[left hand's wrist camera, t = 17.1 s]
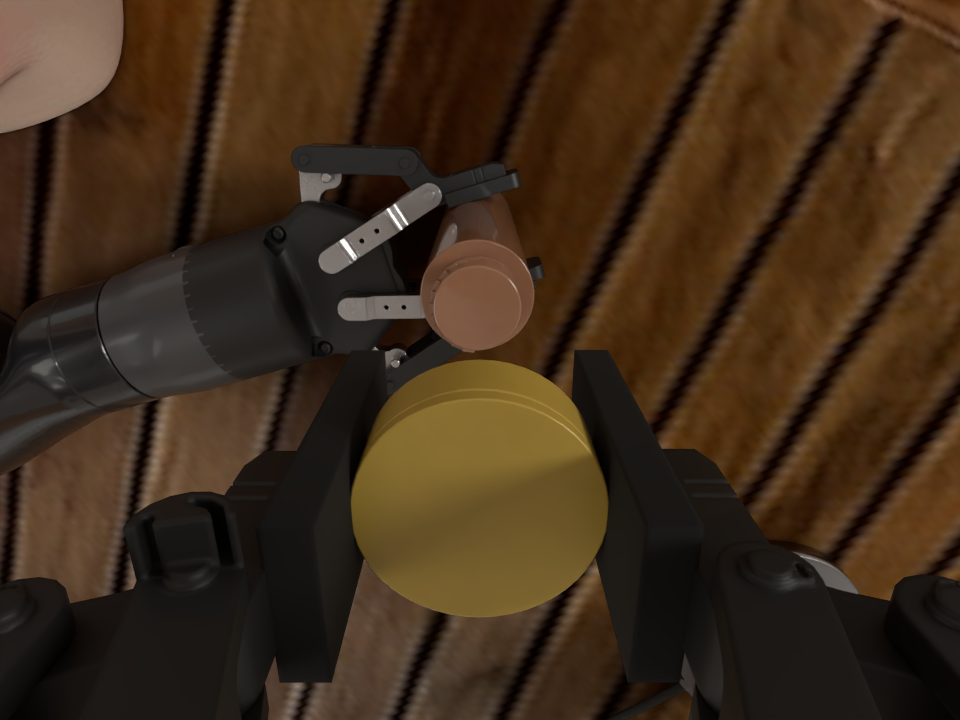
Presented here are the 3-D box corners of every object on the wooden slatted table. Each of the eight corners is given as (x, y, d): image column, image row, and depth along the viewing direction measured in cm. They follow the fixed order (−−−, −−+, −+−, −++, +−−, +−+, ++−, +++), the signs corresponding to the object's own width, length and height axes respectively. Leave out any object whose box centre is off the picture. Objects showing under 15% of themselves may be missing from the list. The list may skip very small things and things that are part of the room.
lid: (499, 588, 13) (502, 654, 12) (323, 481, 12) (299, 537, 11) (639, 444, 12) (664, 495, 10) (455, 311, 11) (451, 345, 9)
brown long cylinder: (450, 178, 36) (427, 237, 20) (517, 192, 37) (551, 262, 20) (438, 245, 38) (407, 354, 21) (503, 258, 38) (523, 375, 21)
